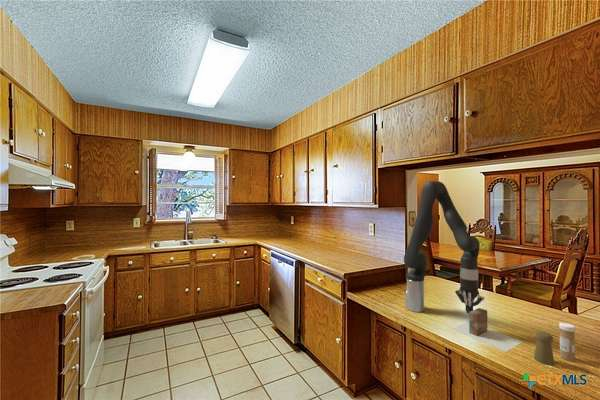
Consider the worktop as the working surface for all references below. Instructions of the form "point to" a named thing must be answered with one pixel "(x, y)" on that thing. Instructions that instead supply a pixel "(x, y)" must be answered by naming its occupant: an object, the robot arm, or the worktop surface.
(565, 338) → the sprinkles bottle
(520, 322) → the worktop surface
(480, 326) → the teal and brown block
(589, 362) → the worktop surface
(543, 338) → the brown rounded upright piece
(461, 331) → the sage mat
